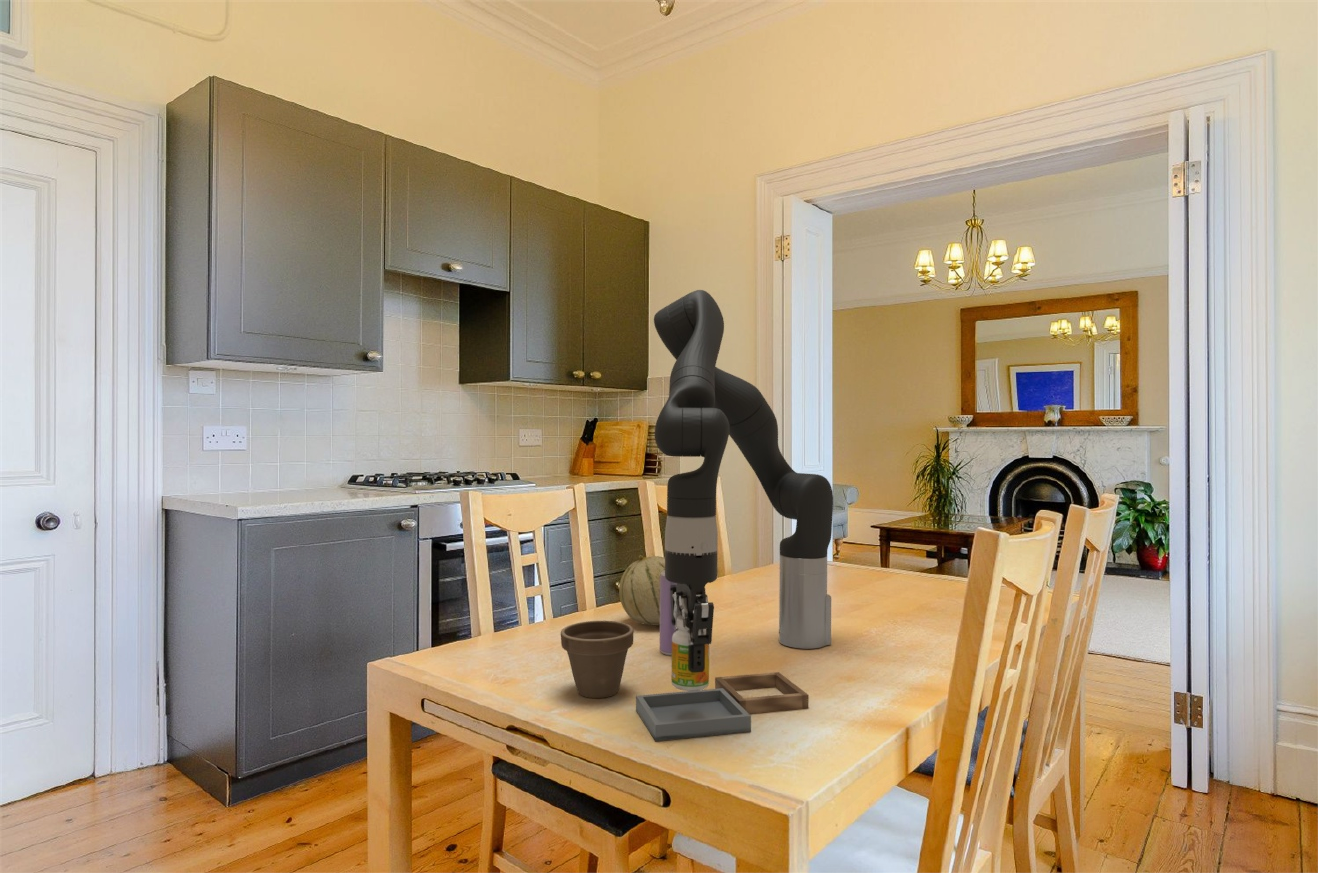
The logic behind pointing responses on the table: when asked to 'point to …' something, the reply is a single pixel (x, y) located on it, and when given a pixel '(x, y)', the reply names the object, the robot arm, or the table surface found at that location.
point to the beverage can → (665, 616)
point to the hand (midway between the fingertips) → (690, 664)
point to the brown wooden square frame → (788, 701)
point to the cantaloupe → (642, 589)
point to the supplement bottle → (686, 662)
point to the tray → (692, 714)
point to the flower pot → (597, 655)
